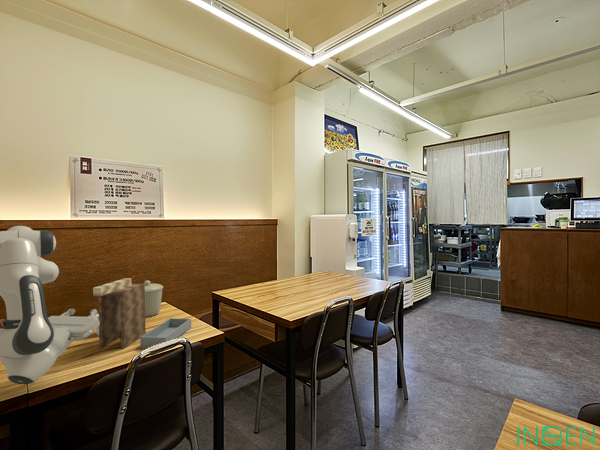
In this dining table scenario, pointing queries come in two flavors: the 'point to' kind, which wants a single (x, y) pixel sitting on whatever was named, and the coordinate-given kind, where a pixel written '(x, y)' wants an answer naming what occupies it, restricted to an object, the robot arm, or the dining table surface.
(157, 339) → the tray
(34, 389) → the dining table surface
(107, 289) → the bar
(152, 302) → the canister
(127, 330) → the zigzag patterned arch
